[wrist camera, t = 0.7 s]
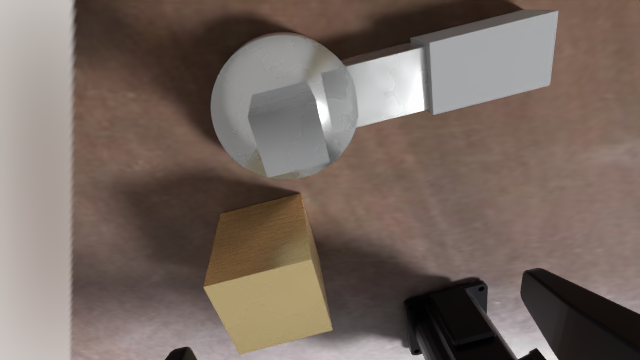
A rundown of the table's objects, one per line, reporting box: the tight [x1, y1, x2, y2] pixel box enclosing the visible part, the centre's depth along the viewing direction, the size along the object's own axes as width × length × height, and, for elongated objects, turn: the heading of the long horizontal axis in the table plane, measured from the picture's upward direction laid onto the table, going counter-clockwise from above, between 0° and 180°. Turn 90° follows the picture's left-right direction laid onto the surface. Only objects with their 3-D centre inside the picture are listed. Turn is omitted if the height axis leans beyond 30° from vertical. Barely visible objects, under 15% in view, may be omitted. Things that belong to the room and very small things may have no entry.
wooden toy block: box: [203, 193, 333, 354], centre depth 19 cm, size 5×5×6 cm
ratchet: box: [211, 10, 558, 180], centre depth 16 cm, size 16×7×6 cm, turn 102°
